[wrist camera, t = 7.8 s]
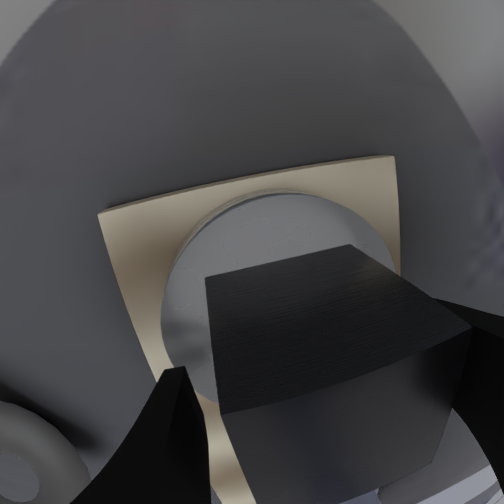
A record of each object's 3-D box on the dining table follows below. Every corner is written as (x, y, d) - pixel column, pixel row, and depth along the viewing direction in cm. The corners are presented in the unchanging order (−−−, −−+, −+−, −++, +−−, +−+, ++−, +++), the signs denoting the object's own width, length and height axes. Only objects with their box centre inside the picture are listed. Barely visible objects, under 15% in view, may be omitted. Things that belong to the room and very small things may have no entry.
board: (373, 455, 20) (379, 466, 19) (225, 498, 19) (227, 510, 18) (379, 155, 13) (394, 156, 12) (105, 208, 12) (97, 214, 11)
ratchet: (362, 470, 19) (385, 513, 15) (245, 504, 18) (256, 553, 14) (366, 172, 12) (438, 185, 8) (137, 217, 11) (106, 255, 7)
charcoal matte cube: (354, 358, 12) (431, 462, 7) (235, 391, 12) (265, 524, 6) (349, 243, 11) (472, 326, 5) (204, 277, 10) (220, 415, 5)
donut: (-29, 392, 13) (-87, 497, 4) (-26, 360, 13) (-101, 474, 3) (97, 464, 16) (82, 588, 7) (112, 441, 16) (96, 583, 6)
